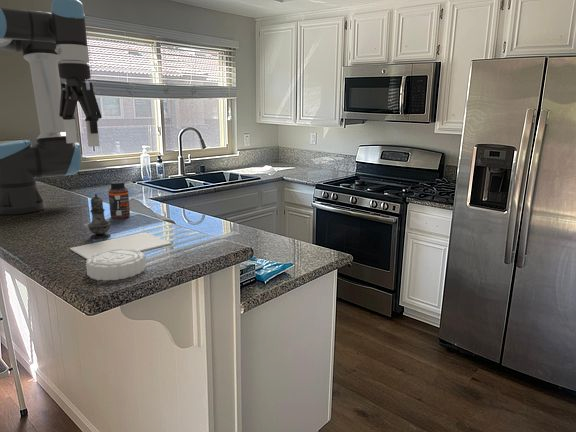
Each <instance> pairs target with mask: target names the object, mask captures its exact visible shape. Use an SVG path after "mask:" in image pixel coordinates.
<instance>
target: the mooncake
mask: <svg viewBox="0 0 576 432" xmlns="http://www.w3.org/2000/svg"><path fill="white" fill-rule="evenodd" d="M85 266H86V267H85V268H86V274H87V276H88V277H89V278H90V279H94V280H96V281H118V280H123V279H128V278H131V277H135V276H136V275H140V274H141V273H142V272H144V271H145V270H146V268H147V263H146V256H145V253H144V252H143V251H142V252H140V251H136V250H135V249H112V250H108V251H105V252H101V253H96V254H95V255H93V256H91V257H89V258H88V260H87V259H85Z"/></svg>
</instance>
